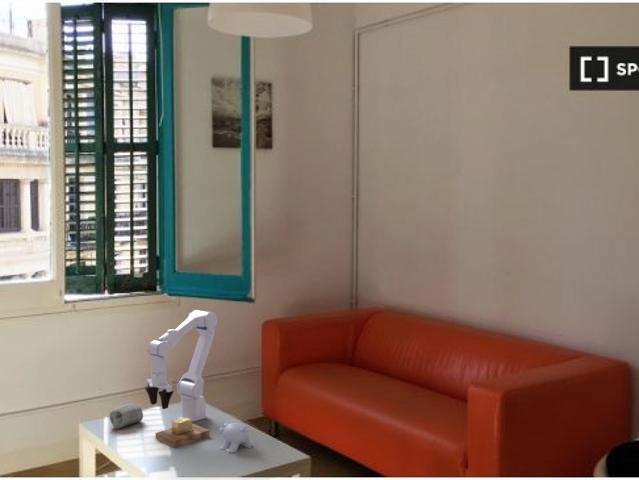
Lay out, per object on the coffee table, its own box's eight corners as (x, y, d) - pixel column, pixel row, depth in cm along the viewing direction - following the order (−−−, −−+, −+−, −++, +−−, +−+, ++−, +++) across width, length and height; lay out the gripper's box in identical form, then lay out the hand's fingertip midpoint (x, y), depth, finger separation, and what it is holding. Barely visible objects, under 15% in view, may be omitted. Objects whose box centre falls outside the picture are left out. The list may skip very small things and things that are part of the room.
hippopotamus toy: (234, 437, 288) (234, 412, 287) (258, 448, 277) (258, 422, 276) (210, 444, 281) (210, 418, 280) (234, 455, 270) (234, 429, 269)
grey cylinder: (118, 425, 291) (116, 399, 295) (105, 431, 296) (104, 405, 300) (149, 425, 300) (147, 400, 304) (135, 431, 306) (134, 406, 310)
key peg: (171, 439, 285) (171, 421, 285) (185, 434, 290) (185, 417, 289) (178, 441, 283) (178, 423, 282) (192, 437, 287) (192, 419, 287)
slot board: (190, 428, 296) (190, 422, 296) (209, 436, 288) (209, 430, 288) (155, 439, 285) (155, 432, 285) (174, 447, 277) (174, 441, 276)
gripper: (139, 370, 295) (140, 404, 296) (160, 377, 285) (161, 412, 286) (154, 366, 300) (155, 400, 301) (176, 373, 290) (177, 408, 291)
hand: (159, 406), depth 294 cm, fingers open, 7 cm apart
